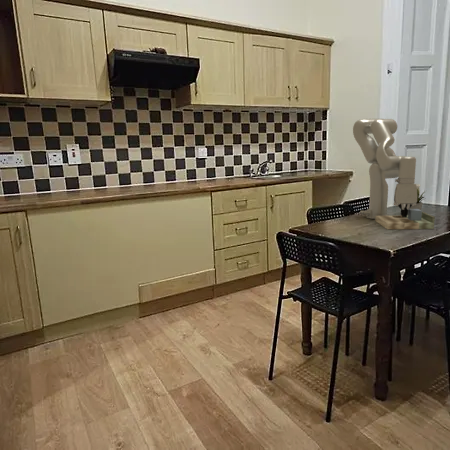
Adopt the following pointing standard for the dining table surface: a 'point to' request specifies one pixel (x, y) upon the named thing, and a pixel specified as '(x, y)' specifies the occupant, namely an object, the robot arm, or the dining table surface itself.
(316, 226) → the dining table surface
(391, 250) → the dining table surface
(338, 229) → the dining table surface
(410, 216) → the block
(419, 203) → the house plant
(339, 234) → the dining table surface
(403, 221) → the board
